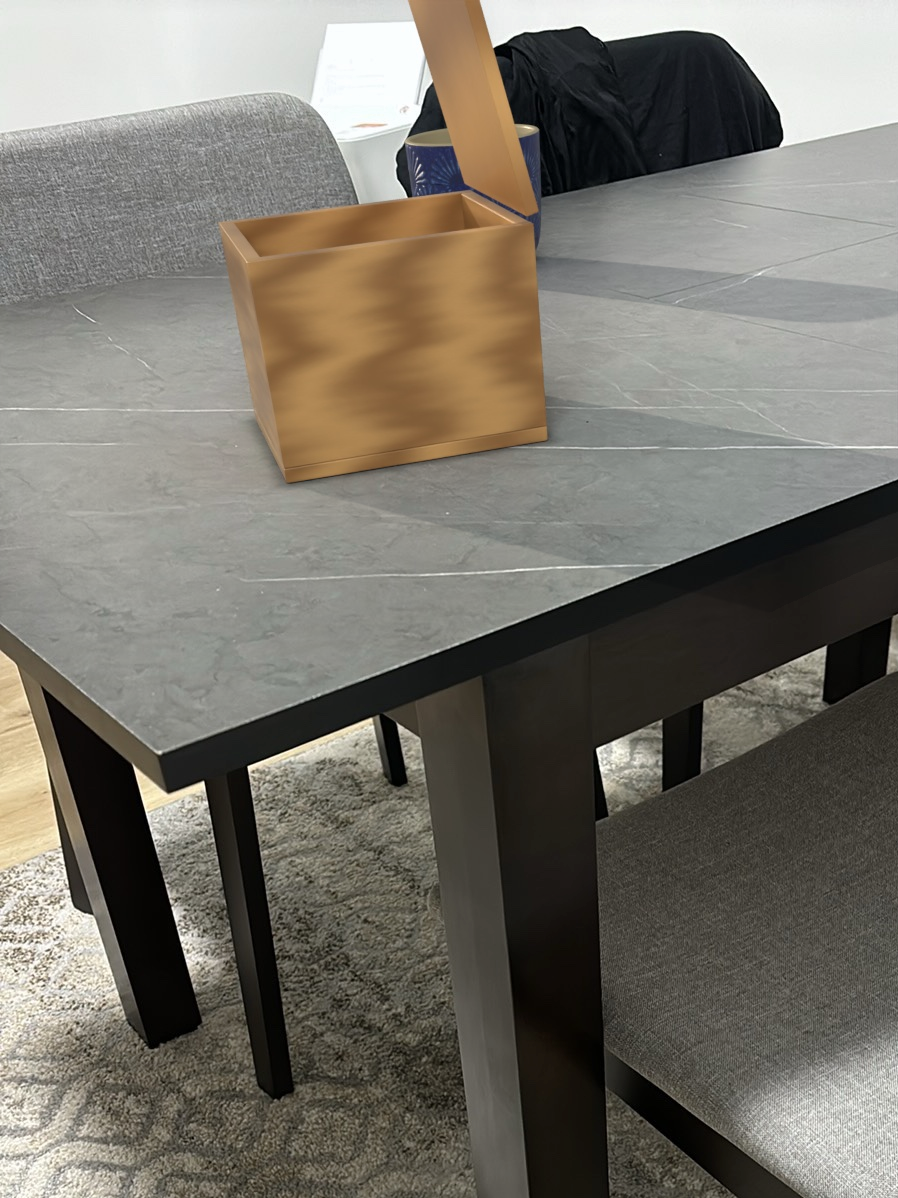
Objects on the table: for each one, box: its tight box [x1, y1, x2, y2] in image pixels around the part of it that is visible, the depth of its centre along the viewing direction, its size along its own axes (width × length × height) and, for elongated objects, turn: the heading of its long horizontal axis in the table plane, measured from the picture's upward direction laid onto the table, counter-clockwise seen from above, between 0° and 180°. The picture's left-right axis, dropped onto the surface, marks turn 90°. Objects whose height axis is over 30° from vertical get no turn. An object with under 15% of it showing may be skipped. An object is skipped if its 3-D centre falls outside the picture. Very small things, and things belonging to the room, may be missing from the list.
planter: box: [404, 123, 542, 252], centre depth 131 cm, size 12×12×11 cm
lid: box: [407, 0, 539, 217], centre depth 81 cm, size 18×15×5 cm
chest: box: [218, 190, 548, 484], centre depth 89 cm, size 17×15×12 cm
